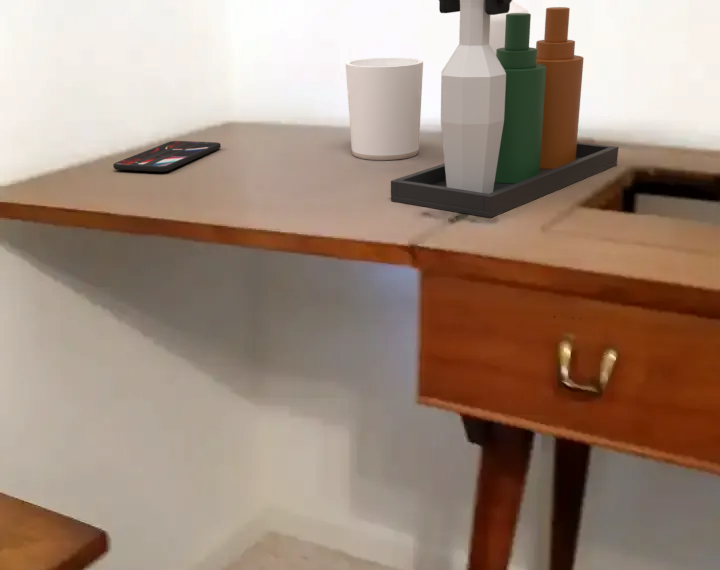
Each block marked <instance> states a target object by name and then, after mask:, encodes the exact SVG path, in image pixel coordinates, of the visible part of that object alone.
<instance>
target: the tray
mask: <svg viewBox="0 0 720 570" xmlns="http://www.w3.org/2000/svg"><path fill="white" fill-rule="evenodd" d="M619 148H620V147H619V146H614V145H606V144H596V143H595V144H594V143H587V142H580V141H579V142H578V141H577V149H576V160H575V161H573V162H570V163H567V164H565V165H562V166H560V167H557V168H554V169H540V174H539V175H536V176H534V177H531V178H528V179H526V180H523V181H521V182H518V183H515V184H504V183H495V182H494V188H493V192H492V193H489V194H487V193H481V192H474V191H468V190H461V189H455V188H448V187H447V183H446V172H445V162H443V163H441V164H437V165H435V166H432V167H429V168H426V169H423V170H419V171H416V172H414V173H410V174H407V175H404V176H401V177H398V178H395V179H392V180H390V201H391V202H394V203H395V202H396V203H401V204H408V205H413V206H419V207H426V208H430V209H437V210H444V211H449V212H453V213H455V212H456V213H460V214H465V215H466V214H467V215H472V216H478V217H482V218H488V219H491V218H493V217H496V216H498V215H501V214H503V213H506V212H508V211H510V210H513V209H515V208H518V207H520V206H522V205H524V204H527V203H529V202H531V201H534V200H536V199H539V198H542V197H544V196H546V195H548V194H549V195H550V194H551V193H554V192H556V191H558V190H560V189H563V188H565V187H567V186H570V185H572V184H575V183H577V182H579V181H582V180H584V179H586V178H589V177H592V176H594V175H597V174H599V173H601V172H603V171H606V170H609V169H611V168H613V167H616V166H617V165H618V157H619Z"/></svg>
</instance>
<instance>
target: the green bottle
mask: <svg viewBox="0 0 720 570" xmlns="http://www.w3.org/2000/svg"><path fill="white" fill-rule="evenodd" d="M531 18H532V14H531V13H529V12H528V13H510V14H506V26H505V48H499V49H497V50H496V56H497V58H498V60H499V62H500V63H501V65H502V67H503V68H504V70H505V72H506V88H505V110H504V124H503V130H502V137H501V143H500V149H499V156H498V162H497V168H496V175H495V181H494V182H495V183H504V184H515V183H518V182H521V181H523V180H526V179H528V178H531V177H534V176H536V175H539V174H540V160H541V144H542V128H543V112H544V96H545V80H546V66H545V65H542V64H536V60H537V49H536V47H532V46H531V47H530V39H531V38H530V37H531Z"/></svg>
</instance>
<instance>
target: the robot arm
mask: <svg viewBox="0 0 720 570" xmlns="http://www.w3.org/2000/svg"><path fill="white" fill-rule="evenodd" d="M438 1H439V4H438V5H439V6H438V9H439V13H440V14H452V13H460V0H438ZM511 1H512V0H485V12H486V13H487V14H488V15H496V14H503V13H508V12H509V10H510V3H511Z"/></svg>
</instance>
